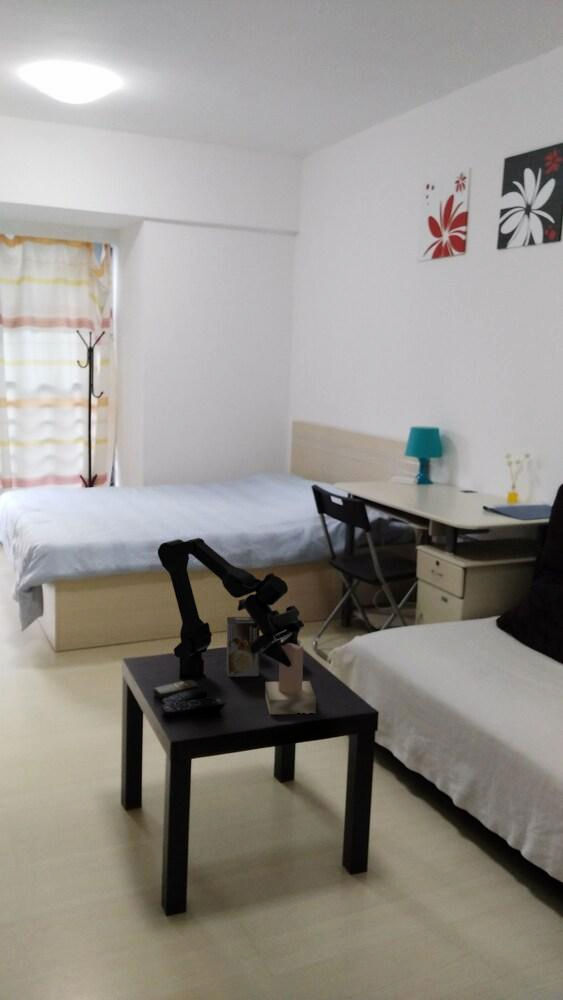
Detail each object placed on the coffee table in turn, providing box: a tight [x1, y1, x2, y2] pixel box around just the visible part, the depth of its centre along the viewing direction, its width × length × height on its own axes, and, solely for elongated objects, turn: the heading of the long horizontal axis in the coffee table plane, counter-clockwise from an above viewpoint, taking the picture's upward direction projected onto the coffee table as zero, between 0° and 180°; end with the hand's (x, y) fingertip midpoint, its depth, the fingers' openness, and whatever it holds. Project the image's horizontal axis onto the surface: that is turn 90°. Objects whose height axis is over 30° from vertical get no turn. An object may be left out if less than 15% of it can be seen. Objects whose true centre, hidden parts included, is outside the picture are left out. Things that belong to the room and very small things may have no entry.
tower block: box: [278, 643, 304, 695], centre depth 228 cm, size 4×4×12 cm
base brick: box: [264, 680, 317, 715], centre depth 229 cm, size 12×12×4 cm
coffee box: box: [226, 616, 260, 678], centre depth 249 cm, size 9×6×16 cm
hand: (295, 663), depth 227 cm, fingers open, 5 cm apart
